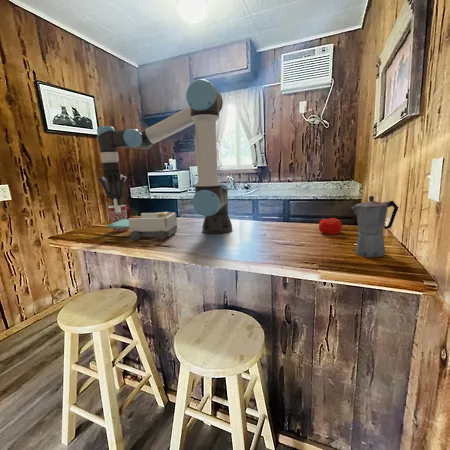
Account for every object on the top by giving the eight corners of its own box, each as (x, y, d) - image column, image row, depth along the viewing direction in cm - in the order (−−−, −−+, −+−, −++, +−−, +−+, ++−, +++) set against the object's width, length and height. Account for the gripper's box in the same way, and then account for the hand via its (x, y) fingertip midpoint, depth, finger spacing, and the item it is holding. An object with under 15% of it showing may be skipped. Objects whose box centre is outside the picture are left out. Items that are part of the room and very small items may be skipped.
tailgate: (143, 219, 132) (123, 218, 133) (127, 226, 116) (105, 225, 117) (143, 221, 132) (124, 220, 133) (127, 229, 116) (105, 228, 117)
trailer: (178, 230, 132) (177, 211, 130) (166, 241, 114) (164, 219, 112) (145, 231, 134) (143, 212, 132) (128, 241, 116) (125, 219, 114)
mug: (119, 233, 131) (115, 207, 128) (107, 232, 136) (104, 207, 132) (138, 228, 142) (135, 204, 139) (127, 226, 146) (124, 203, 143)
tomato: (318, 235, 113) (318, 221, 112) (319, 229, 123) (319, 216, 122) (342, 237, 110) (343, 222, 108) (341, 230, 120) (342, 217, 118)
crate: (168, 221, 126) (168, 211, 125) (167, 224, 121) (166, 213, 120) (158, 222, 126) (157, 212, 124) (156, 224, 121) (155, 214, 120)
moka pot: (341, 250, 93) (345, 195, 88) (382, 247, 94) (387, 193, 90) (357, 259, 84) (362, 198, 79) (401, 256, 85) (409, 196, 80)
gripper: (127, 161, 121) (134, 210, 126) (102, 163, 123) (110, 211, 128) (119, 161, 114) (127, 213, 119) (92, 163, 116) (101, 214, 121)
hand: (118, 212), depth 124 cm, fingers closed
